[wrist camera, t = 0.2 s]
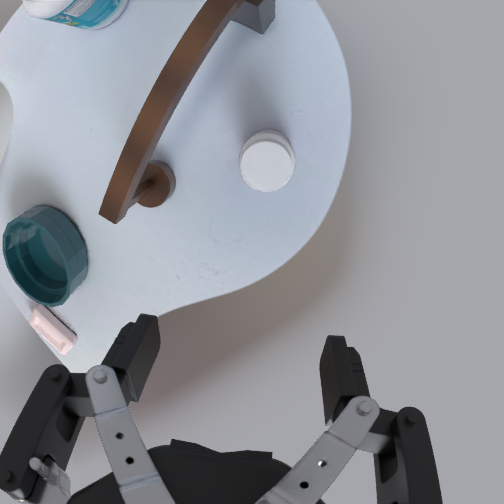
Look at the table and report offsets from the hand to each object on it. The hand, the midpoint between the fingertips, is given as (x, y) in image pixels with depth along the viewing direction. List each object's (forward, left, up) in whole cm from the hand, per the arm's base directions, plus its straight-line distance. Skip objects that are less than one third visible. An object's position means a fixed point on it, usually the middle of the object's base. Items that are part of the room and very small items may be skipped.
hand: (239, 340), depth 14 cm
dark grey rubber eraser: (-20, -3, -21) cm, 29 cm away
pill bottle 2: (-6, 0, -21) cm, 22 cm away
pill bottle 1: (-24, -20, -21) cm, 37 cm away
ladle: (-10, -7, -21) cm, 24 cm away
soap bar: (+24, -33, -21) cm, 46 cm away
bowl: (+8, -29, -21) cm, 36 cm away
